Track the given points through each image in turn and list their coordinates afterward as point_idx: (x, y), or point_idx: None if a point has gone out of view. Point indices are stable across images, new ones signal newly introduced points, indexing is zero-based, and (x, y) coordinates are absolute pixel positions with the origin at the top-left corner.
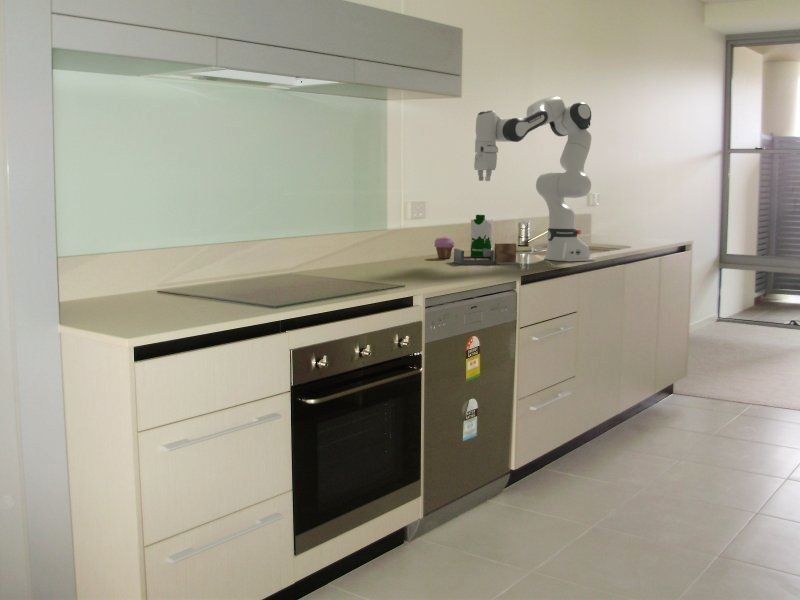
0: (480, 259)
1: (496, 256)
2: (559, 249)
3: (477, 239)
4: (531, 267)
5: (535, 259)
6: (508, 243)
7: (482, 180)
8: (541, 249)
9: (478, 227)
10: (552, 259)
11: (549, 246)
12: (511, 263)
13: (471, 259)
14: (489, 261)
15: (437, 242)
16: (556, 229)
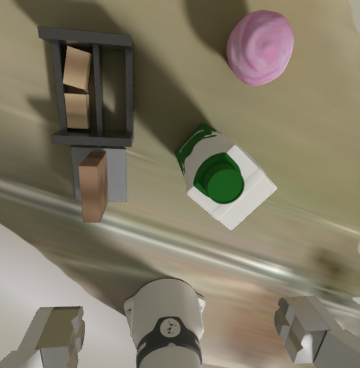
0: (65, 101)
1: (87, 156)
2: (139, 312)
3: (193, 146)
4: (6, 203)
5: (178, 263)
6: (88, 203)
7: (276, 317)
8: (348, 324)
9: (200, 159)
10: (146, 285)
11: (163, 305)
12: (74, 182)
13: (64, 73)
14: (61, 125)
15: (252, 13)
16: (146, 351)
